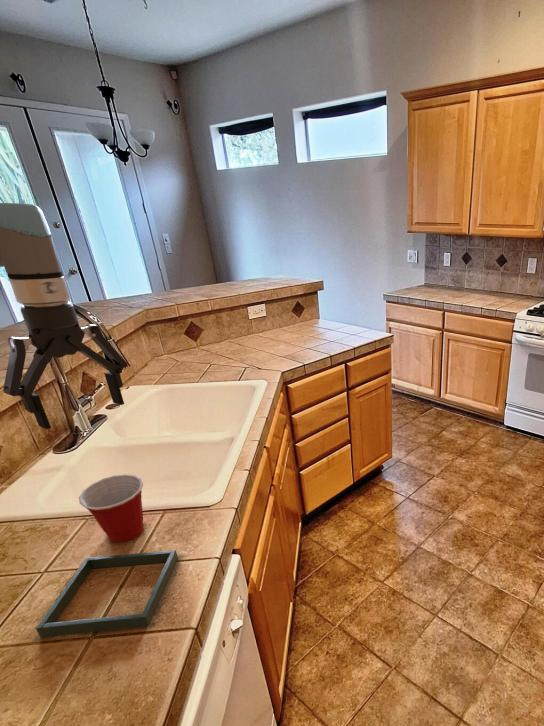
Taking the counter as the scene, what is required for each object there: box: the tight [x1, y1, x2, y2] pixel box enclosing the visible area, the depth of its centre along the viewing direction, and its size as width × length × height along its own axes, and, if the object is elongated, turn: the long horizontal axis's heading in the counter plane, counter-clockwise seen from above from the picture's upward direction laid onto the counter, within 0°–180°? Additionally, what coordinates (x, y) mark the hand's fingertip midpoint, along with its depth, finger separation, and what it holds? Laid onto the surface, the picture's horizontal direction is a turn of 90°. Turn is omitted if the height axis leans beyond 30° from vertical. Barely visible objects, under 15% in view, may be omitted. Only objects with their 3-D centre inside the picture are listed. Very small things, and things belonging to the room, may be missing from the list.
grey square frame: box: [35, 549, 179, 638], centre depth 74 cm, size 16×16×3 cm
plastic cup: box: [78, 473, 144, 543], centre depth 86 cm, size 11×11×12 cm
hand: (84, 414), depth 84 cm, fingers open, 13 cm apart
